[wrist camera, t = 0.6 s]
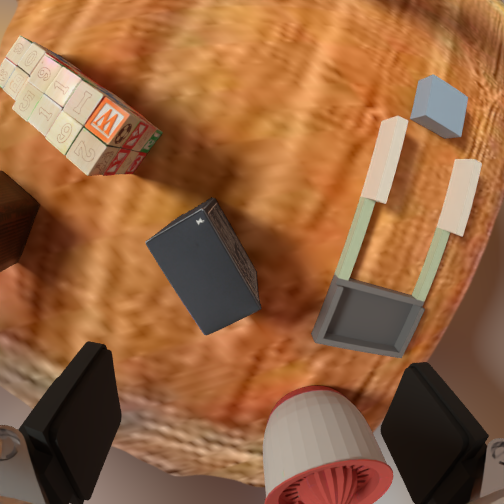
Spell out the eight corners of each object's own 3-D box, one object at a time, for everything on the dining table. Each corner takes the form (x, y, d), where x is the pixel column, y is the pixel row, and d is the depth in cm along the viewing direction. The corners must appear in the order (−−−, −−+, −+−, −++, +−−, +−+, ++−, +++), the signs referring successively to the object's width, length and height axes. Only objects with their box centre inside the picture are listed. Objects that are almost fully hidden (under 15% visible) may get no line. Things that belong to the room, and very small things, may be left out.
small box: (166, 223, 36) (140, 241, 26) (214, 195, 36) (204, 203, 26) (212, 297, 39) (202, 339, 29) (258, 273, 38) (265, 308, 28)
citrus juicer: (241, 442, 45) (243, 544, 26) (279, 363, 41) (301, 480, 22) (325, 453, 47) (350, 543, 27) (373, 381, 43) (427, 476, 24)
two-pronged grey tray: (381, 121, 34) (398, 115, 30) (461, 163, 35) (481, 163, 31) (311, 333, 40) (318, 351, 36) (394, 349, 42) (407, 365, 37)
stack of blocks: (31, 91, 31) (-25, 74, 19) (57, 53, 30) (6, 25, 18) (133, 175, 35) (86, 177, 23) (165, 132, 34) (130, 114, 22)
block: (417, 81, 33) (433, 74, 29) (451, 101, 34) (467, 97, 30) (409, 119, 34) (425, 115, 30) (443, 138, 35) (461, 136, 31)
